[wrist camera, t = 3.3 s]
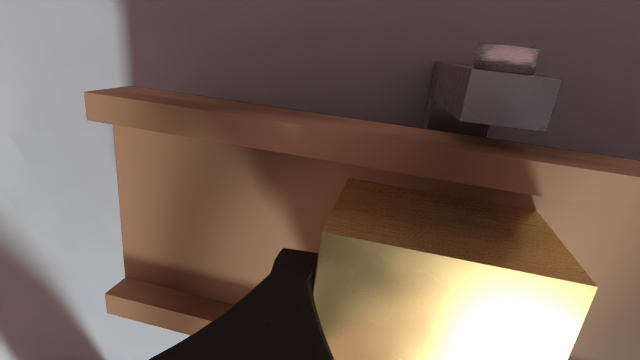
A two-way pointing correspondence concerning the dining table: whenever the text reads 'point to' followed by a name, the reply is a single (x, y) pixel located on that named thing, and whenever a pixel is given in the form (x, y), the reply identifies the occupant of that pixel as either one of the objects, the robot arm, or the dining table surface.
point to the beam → (334, 201)
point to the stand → (491, 92)
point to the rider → (445, 279)
